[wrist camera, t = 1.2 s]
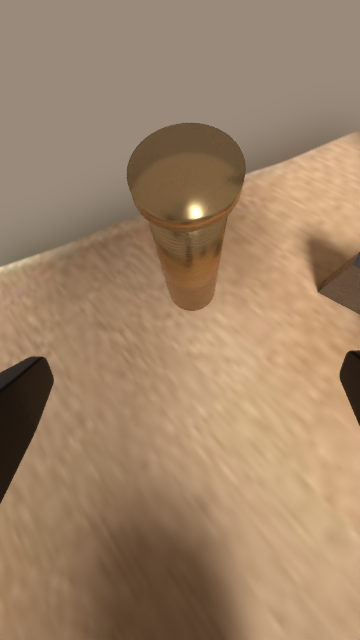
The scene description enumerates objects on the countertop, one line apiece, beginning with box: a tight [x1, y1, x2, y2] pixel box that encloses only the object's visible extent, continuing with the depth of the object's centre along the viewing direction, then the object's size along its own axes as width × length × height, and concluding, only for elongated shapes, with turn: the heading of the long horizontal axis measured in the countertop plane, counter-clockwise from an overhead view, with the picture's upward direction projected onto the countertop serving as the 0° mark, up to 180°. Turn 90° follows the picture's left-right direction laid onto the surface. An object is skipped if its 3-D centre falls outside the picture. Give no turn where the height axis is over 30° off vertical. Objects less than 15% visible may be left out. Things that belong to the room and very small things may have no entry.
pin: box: [127, 123, 245, 311], centre depth 17 cm, size 5×5×13 cm
